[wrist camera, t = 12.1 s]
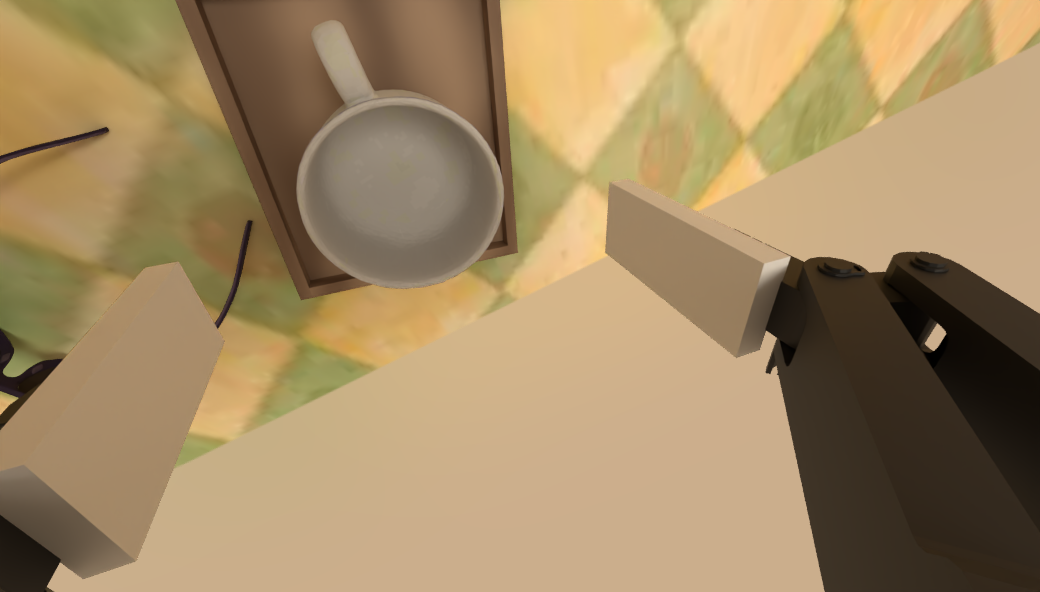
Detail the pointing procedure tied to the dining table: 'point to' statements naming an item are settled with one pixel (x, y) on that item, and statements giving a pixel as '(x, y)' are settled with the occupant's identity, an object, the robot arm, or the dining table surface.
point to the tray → (313, 98)
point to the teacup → (395, 180)
